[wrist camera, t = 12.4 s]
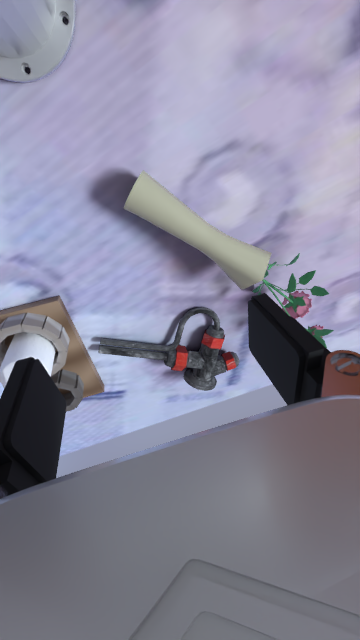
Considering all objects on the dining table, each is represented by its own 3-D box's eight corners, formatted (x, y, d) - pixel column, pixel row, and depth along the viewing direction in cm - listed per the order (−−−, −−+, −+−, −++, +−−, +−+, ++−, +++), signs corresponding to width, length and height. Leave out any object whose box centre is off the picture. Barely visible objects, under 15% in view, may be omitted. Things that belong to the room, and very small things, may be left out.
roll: (53, 391, 31) (36, 423, 33) (63, 333, 41) (49, 360, 43) (-6, 379, 28) (-21, 414, 30) (20, 319, 38) (7, 349, 40)
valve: (247, 309, 51) (223, 375, 56) (109, 284, 43) (96, 362, 49) (263, 323, 45) (235, 394, 51) (108, 297, 38) (93, 384, 43)
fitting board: (-26, 317, 38) (-40, 335, 34) (59, 295, 39) (54, 311, 35) (40, 404, 49) (35, 425, 46) (104, 385, 50) (104, 404, 47)
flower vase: (151, 168, 39) (318, 286, 49) (112, 242, 40) (283, 344, 50) (162, 129, 28) (376, 293, 38) (107, 232, 29) (329, 367, 38)
